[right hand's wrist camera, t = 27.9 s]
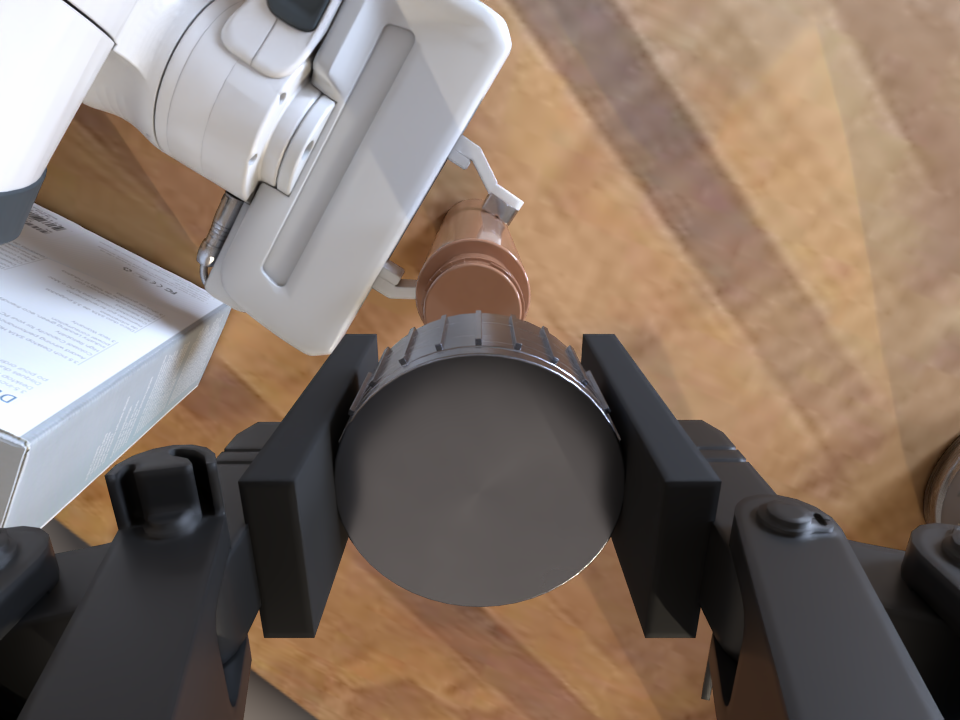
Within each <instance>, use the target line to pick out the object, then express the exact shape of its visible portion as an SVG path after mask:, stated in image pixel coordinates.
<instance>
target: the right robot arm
mask: <svg viewBox="0 0 960 720" xmlns="http://www.w3.org/2000/svg"><path fill="white" fill-rule="evenodd" d="M581 364H582V366H583V367H584V369H585V370H586V372H587V371H589V370H590V371H591V373H592V375H593V377H594V379H595V381H596V383H597V385H598V387H599V389H600V391H601V392H602V394H603V396H604V398H605V400H606V402H607V404H608V406H609V408H610V410H611V412H610V413H609V415H610V417H611V419H612V421H613V424H614V426H615V428H616V430H617V432H618V434H619V436H620V438H621V448H622V451H623V455H624V460H625V468H626V480H625V491H624V500H623V508H622V511H621V514H620V517H619V520H618V523H617V525H616V527H615V529H614V531H613V533H612V535H611V538H612V541H613V544H614V547H615V550H616V553H617V556H618V559H619V562H620V565H621V568H622V571H623V573H624V576H625V579H626V582H627V585H628V588H629V591H630V594H631V597H632V600H633V603H634V606H635V609H636V612H637V615H638V618H639V621H640V624H641V627H642V630H643V632H644V635H645V638H696V632H697V626H698V620H699V614H700V608H702V611H703V613H704V615H705V617H706V619H707V621H708V623H709V625H710V627H711V629H712V631H713V634H712V639H711V645H710V650H709V656H708V661H707V667H706V672H705V678H704V683H703V690H702V698H701V699H705V700H710V695H711V689H712V688H713V695H714V703H715V710H716V717H717V720H960V436H959V437H958V438H957V439H956V440H955V441H954V442H953V443H952V444H951V446H950V447H949V448H948V449H947V450H946V451H945V453H944V454H943V455H942V457H941V458H940V459H939V461H938V463H937V464H936V466H935V468H934V470H933V472H932V474H931V476H930V478H929V481H928V483H927V487H926V490H925V495H924V508H923V509H924V517H925V521H926V524H925V525H920V526H919V527H917V528H916V529H915V530H913V531H912V532H911V536H910V539H909V542H908V545H907V548H906V551H902V550H897V549H891V548H886V547H881V546H876V545H870V544H865V543H860V542H856V541H851V540H847V538H846V536H845V534H844V533H843V531H842V529H841V528H840V527H839V525H838V524H837V523H836V522H835V521H834V520H833V518H832V517H830V516H829V515H827V514H826V513H824V512H823V511H821V510H819V509H818V508H816V507H814V506H812V505H810V504H807V503H805V502H802V501H800V500H797V499H793V498H789V497H784V496H780V495H777V494H776V493H775V492H774V491H773V490H772V489H771V487H770V486H769V485H768V484H767V483H766V482H765V481H764V479H763V478H762V477H761V476H760V475H759V474H758V472H757V471H756V470H755V469H754V468H753V467H752V465H751V464H750V463H749V462H746V458H745V457H744V456H743V455H742V454H741V453H740V451H739V450H736V449H735V446H734V445H733V443H732V442H731V441H730V440H729V439H728V438H727V436H726V435H725V434H724V433H723V432H721V431H720V430H718V429H716V428H715V427H713V426H711V425H709V424H708V423H706V422H704V421H702V420H677V419H676V418H675V417H674V415H673V414H672V413H671V411H670V410H669V408H668V407H667V406H666V404H665V403H664V402H663V400H662V399H661V397H660V396H659V395H658V393H657V392H656V391H655V389H654V388H653V386H652V385H651V384H650V382H649V381H648V380H647V378H646V377H645V376H644V374H643V373H642V371H641V370H640V369H639V367H638V366H637V365H636V363H635V362H634V360H633V359H632V358H631V356H630V355H629V354H628V352H627V351H626V350H625V348H624V347H623V345H622V344H621V343H620V341H619V340H618V339H617V337H616V336H615V334H583V342H582V358H581ZM377 365H378V348H377V334H345V335H344V337H343V338H342V339H341V341H340V342H339V344H338V345H337V346H336V348H335V349H334V350H333V352H332V353H331V354H330V356H329V357H328V359H327V360H326V361H325V363H324V364H323V365H322V367H321V368H320V370H319V371H318V372H317V374H316V375H315V376H314V378H313V379H312V380H311V382H310V383H309V385H308V386H307V387H306V389H305V390H304V391H303V393H302V394H301V396H300V397H299V398H298V400H297V401H296V402H295V404H294V405H293V407H292V408H291V409H290V411H289V412H288V413H287V415H286V416H285V417H284V419H283V420H282V422H257V423H256V424H254V425H252V426H250V427H249V428H247V429H245V430H244V431H242V432H240V433H238V434H237V435H236V436H235V437H234V438H233V440H232V441H231V442H230V443H229V444H228V445H227V447H226V448H225V449H224V450H225V451H224V452H221V454H220V455H219V456H218V457H217V458H216V456H215V453H213V452H212V451H211V450H209V449H208V448H206V447H201V446H196V445H172V446H166V447H161V448H156V449H151V450H148V451H145V452H143V453H140V454H137V455H134V456H131V457H130V458H128V459H126V460H124V461H122V462H120V463H119V464H117V465H115V466H114V467H113V468H112V469H111V470H110V471H109V472H108V473H107V474H106V475H105V479H106V483H107V487H108V491H109V495H110V499H111V502H112V506H113V510H114V514H115V518H116V522H117V526H118V529H119V530H118V532H117V534H116V535H115V537H114V539H113V541H112V542H111V543H107V544H103V545H98V546H93V547H88V548H83V549H78V550H72V551H67V552H62V553H57V554H55V553H54V550H53V547H52V544H51V540H50V537H49V535H48V534H47V533H46V532H45V531H43V530H42V529H41V528H37V527H29V526H17V527H8V528H0V720H243V718H244V711H245V704H246V697H247V690H248V682H249V675H250V668H251V661H252V659H251V651H250V645H249V639H248V631H249V629H250V627H251V625H252V623H253V621H254V619H255V617H256V615H257V613H258V611H259V610H260V616H261V622H262V628H263V634H264V638H314V637H315V634H316V631H317V628H318V626H319V623H320V620H321V617H322V614H323V611H324V608H325V605H326V602H327V599H328V596H329V593H330V590H331V587H332V584H333V581H334V578H335V575H336V572H337V569H338V567H339V564H340V561H341V558H342V555H343V552H344V549H345V546H346V543H347V540H348V537H349V536H348V534H347V532H346V530H345V528H344V527H343V525H342V522H341V519H340V516H339V513H338V510H337V504H336V495H335V485H334V462H335V456H336V453H337V449H338V446H339V440H340V437H341V435H342V433H343V431H344V429H345V427H346V425H347V423H348V421H349V419H350V417H351V415H349V414H347V413H348V411H349V409H350V407H351V405H352V403H353V401H354V399H355V397H356V395H357V393H358V391H359V389H360V387H361V385H362V383H363V381H364V379H365V377H366V375H367V374H368V372H370V373H373V371H374V370H375V368H376V366H377Z"/></svg>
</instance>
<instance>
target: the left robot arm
mask: <svg viewBox="0 0 960 720" xmlns="http://www.w3.org/2000/svg"><path fill="white" fill-rule="evenodd" d="M511 46H512V44H511V39H510V34H509V30H508V27H507V24H506V22H505V21H504V19H503V18H502V17H501V16H500V15H499V14H497V13H496V12H495V11H493V10H492V9H491V8H489V7H488V6H486V5H485V4H483V3H482V2H480V1H479V0H0V245H2V244H5V243H8V242H11V241H13V240H15V239H16V238H18V237H19V235H20V234H21V232H22V229H23V227H24V225H25V222H26V220H27V218H28V215H29V213H30V211H31V208H32V206H33V204H34V201H35V199H36V197H37V194H38V192H39V190H40V188H41V185H42V183H43V181H44V179H45V176H46V172H47V164H48V163H49V161H50V159H51V157H52V155H53V153H54V152H55V150H56V148H57V146H58V144H59V143H60V141H61V139H62V137H63V135H64V134H65V132H66V130H67V128H68V126H69V125H70V123H71V121H72V119H73V117H74V116H75V114H76V112H77V110H78V108H79V107H80V105H81V103H83V104H85V105H87V106H90V107H92V108H95V109H98V110H102V111H105V112H108V113H111V114H114V115H117V116H119V117H121V118H123V119H124V120H126V121H128V122H129V123H131V124H132V125H133V126H135V127H136V128H137V129H138V130H139V131H140V132H141V133H142V134H143V135H144V136H145V137H146V138H147V139H148V140H149V141H150V142H151V143H152V144H153V145H154V146H155V147H157V148H158V149H159V150H161V151H162V152H164V153H165V154H167V155H169V156H170V157H172V158H174V159H175V160H177V161H179V162H180V163H182V164H183V165H185V166H187V167H188V168H190V169H192V170H193V171H195V172H197V173H198V174H200V175H202V176H203V177H205V178H207V179H208V180H210V181H212V182H213V183H215V184H217V185H218V186H220V187H222V188H223V189H225V190H226V191H225V194H224V195H223V197H222V200H221V202H220V204H219V207H218V209H217V211H216V213H215V216H214V219H213V222H212V225H211V228H210V230H209V233H208V235H207V237H206V238H205V239H204V240H203V241H202V243H201V245H200V247H199V250H198V253H197V258H196V259H197V261H198V262H199V263H200V277H201V280H202V282H203V285H204V286H205V290H206V291H207V292H208V293H209V294H210V295H211V296H212V297H214V298H215V299H217V300H219V301H221V302H222V303H224V304H226V305H228V306H230V307H231V308H233V309H235V310H238V311H241V312H245V313H247V314H249V315H250V316H251V317H252V318H254V319H255V320H256V321H258V322H259V323H260V324H261V325H263V326H264V327H265V328H267V329H268V330H270V331H271V332H272V333H274V334H275V335H277V336H278V337H279V338H281V339H282V340H284V341H285V342H287V343H288V344H290V345H292V346H293V347H295V348H296V349H298V350H299V351H301V352H303V353H305V354H307V355H310V356H319V355H328V354H331V353H332V352H333V350H334V349H335V348H336V346H337V345H338V344H339V342H340V341H341V339H342V338H343V337H344V335H345V333H346V332H347V330H348V328H349V326H350V325H351V323H352V321H353V320H354V318H355V316H356V315H357V313H358V311H359V309H360V308H361V306H362V304H363V303H364V301H365V299H366V297H367V296H368V294H369V292H370V291H371V289H372V288H373V289H375V290H376V291H378V292H380V293H381V294H383V295H385V296H386V297H388V298H393V299H416V298H415V291H416V283H417V280H410V279H401V277H402V276H403V274H404V272H405V271H404V269H403V268H401V267H400V266H398V265H397V264H395V263H393V262H392V261H390V260H389V258H390V257H391V255H392V253H393V251H394V250H395V248H396V246H397V245H398V243H399V241H400V240H401V238H402V236H403V234H404V233H405V231H406V229H407V228H408V226H409V224H410V223H411V221H412V219H413V217H414V216H415V214H416V212H417V211H418V209H419V207H420V205H421V204H422V202H423V200H424V199H425V197H426V195H427V194H428V192H429V190H430V188H431V187H432V185H433V183H434V182H435V180H436V178H437V176H438V175H439V173H440V171H441V170H442V168H443V166H444V165H445V163H446V161H447V159H449V160H450V161H452V162H453V163H455V164H456V165H458V166H459V167H461V168H462V169H467V168H468V166H469V164H470V163H471V161H473V163H474V165H475V167H476V169H477V171H478V173H479V175H480V177H481V179H482V181H483V183H484V185H485V187H486V189H487V191H488V193H489V194H488V195H487V197H486V199H485V200H484V202H483V204H482V209H483V210H485V211H486V212H488V213H489V214H491V215H497V216H498V218H499V220H500V221H502V222H503V223H505V224H506V225H508V226H509V224H510V223H511V221H512V220H513V218H514V217H515V215H516V214H517V212H518V211H519V209H520V208H521V206H522V205H523V201H521V200H520V199H519V198H517V197H516V196H515V195H513V194H512V193H510V192H509V191H507V190H506V189H504V188H503V187H501V186H500V185H498V184H497V180H496V178H495V176H494V174H493V172H492V170H491V168H490V166H489V164H488V162H487V160H486V158H485V156H484V154H483V152H482V150H481V148H480V147H479V146H478V145H476V144H475V143H473V142H472V141H470V140H469V139H468V138H466V137H465V136H463V135H462V134H463V132H464V130H465V129H466V127H467V125H468V124H469V122H470V120H471V119H472V117H473V115H474V113H475V112H476V110H477V108H478V107H479V105H480V103H481V102H482V100H483V98H484V96H485V95H486V93H487V91H488V90H489V88H490V86H491V84H492V83H493V81H494V79H495V78H496V76H497V74H498V73H499V71H500V69H501V67H502V66H503V64H504V62H505V61H506V59H507V57H508V55H509V53H510V51H511ZM470 160H471V161H470ZM208 267H213V268H212V270H211V272H210V274H209V276H208Z"/></svg>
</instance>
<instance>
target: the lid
mask: <svg viewBox="0 0 960 720" xmlns="http://www.w3.org/2000/svg"><path fill="white" fill-rule="evenodd" d="M610 412H611V410H610V408H609V406H608V404H607V402H606V400H605V398H604V396H603V394H602V392H601V391H600V389H599V387H598V385H597V383H596V381H595V379H594V377H593V375H592V373H591V371H590V370H589V371H587V372H586V370H585V369H584V367H583V366H582V364H581V363H580V361H579V359H578V357H577V355H576V353H575V351H574V349H573V348H572V347H571V346H569V347H566V346H565V345H564V344H563V343H562V342H561V341H559V340H558V339H557V338H556V337H554V336H553V335H551V334H550V333H549V331H548V329H547V328H546V327H544V326H543V327H542V328H540V327H537V326H535V325H533V324H531V323H529V322H526V321H523V320H520V319H517V318H516V315H513V314H511V315H510V316H505V315H499V314H490V313H481V310H476V313H470V314H460V315H455V316H450V317H447V314H446V315H442V316H441V319H439V320H436V321H433V322H430V323H428V324H426V325H424V326H422V327H420V328H418V329H416V328H415V327H413V328H412V329H410V331H409V334H408V335H407V336H405V337H404V338H402V339H401V340H400V341H399V342H398V343H397V344H395V345H394V346H393V347H392V348H391V349H390V348H389V347H387V348H386V349H385V350H384V352H383V355H382V357H381V359H380V361H379V363H378V365H377V366H376V368H375V370H374V371H373V373H370V372H368V374H367V375H366V377H365V379H364V381H363V383H362V385H361V387H360V389H359V391H358V393H357V395H356V397H355V399H354V401H353V403H352V405H351V407H350V409H349V411H348V413H347V414H349V415H351V417H350V419H349V421H348V423H347V425H346V427H345V429H344V431H343V433H342V435H341V437H340V440H339V446H338V449H337V453H336V456H335V462H334V485H335V495H336V504H337V510H338V513H339V516H340V519H341V522H342V525H343V527H344V528H345V530H346V532H347V534H348V536H349V538H350V540H351V541H352V543H353V544H354V546H355V547H356V548H357V550H358V551H359V553H360V554H361V555H362V556H363V557H364V558H365V559H366V560H367V561H368V562H369V564H370V565H371V566H373V567H374V568H375V569H376V570H377V571H379V572H380V573H381V574H382V575H383V576H385V577H386V578H388V579H389V580H391V581H392V582H394V583H395V584H397V585H398V586H400V587H402V588H404V589H406V590H408V591H410V592H412V593H414V594H417V595H420V596H422V597H425V598H428V599H431V600H435V601H438V602H442V603H446V604H453V605H460V606H473V607H487V606H500V605H506V604H512V603H517V602H521V601H525V600H528V599H532V598H535V597H537V596H540V595H542V594H545V593H547V592H549V591H551V590H553V589H555V588H557V587H559V586H561V585H563V584H564V583H566V582H567V581H569V580H570V579H572V578H573V577H575V576H576V575H577V574H579V573H580V572H581V571H582V570H583V569H584V568H585V567H587V566H588V565H589V564H590V563H591V562H592V561H593V560H594V559H595V557H596V556H597V555H598V554H599V553H600V552H601V551H602V549H603V548H604V546H605V545H606V543H607V542H608V540H609V539H610V537H611V535H612V533H613V531H614V529H615V527H616V525H617V523H618V520H619V517H620V514H621V511H622V508H623V500H624V491H625V480H626V468H625V460H624V455H623V451H622V448H621V438H620V436H619V434H618V432H617V430H616V428H615V426H614V424H613V421H612V419H611V417H610V415H609V413H610Z"/></svg>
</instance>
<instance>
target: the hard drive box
mask: <svg viewBox="0 0 960 720" xmlns="http://www.w3.org/2000/svg"><path fill="white" fill-rule="evenodd" d="M230 310H231V307H230V306H228V305H226V304H224V303H222V302H221V301H219V300H217V299H215V298H214V297H212V296H211V295H210V294H209V293H208V292H207V291H206V290H204V289H202V288H200V287H198V286H196V285H195V284H193V283H191V282H189V281H187V280H185V279H183V278H181V277H179V276H177V275H175V274H173V273H171V272H169V271H167V270H165V269H163V268H161V267H159V266H157V265H155V264H153V263H151V262H149V261H147V260H145V259H143V258H141V257H140V256H138V255H136V254H134V253H132V252H130V251H128V250H126V249H124V248H122V247H120V246H118V245H116V244H114V243H112V242H110V241H108V240H106V239H104V238H102V237H100V236H98V235H97V234H95V233H93V232H90V231H88V230H86V229H84V228H83V227H81V226H80V225H78V224H76V223H74V222H72V221H70V220H68V219H66V218H64V217H62V216H60V215H58V214H56V213H54V212H52V211H49V210H47V209H45V208H43V207H41V206H39V205H37V204H35V203H34V204H33V206H32V208H31V211H30V213H29V215H28V218H27V220H26V222H25V225H24V227H23V229H22V232H21V234H20V235H19V237H18V238H16V239H15V240H13V241H11V242H8V243H5V244H2V245H0V528H8V527H17V526H29V527H37V528H43V527H44V526H45V525H46V524H47V523H48V522H49V521H50V520H51V519H52V518H53V517H55V516H56V515H57V514H58V513H59V512H60V511H61V510H62V509H63V508H64V507H65V506H67V505H68V504H69V503H70V502H71V501H72V500H73V499H74V498H75V497H77V496H78V495H79V494H80V493H81V492H82V491H83V490H84V489H85V488H86V487H87V486H88V485H90V484H91V483H92V482H93V481H94V480H95V479H96V478H97V477H98V476H99V475H101V474H102V473H103V472H104V471H105V470H106V469H107V468H108V467H109V466H110V465H112V464H113V463H114V462H115V461H116V460H117V459H118V458H119V457H120V456H121V455H123V454H124V453H125V452H126V451H127V450H128V449H129V448H130V447H131V446H132V445H133V444H135V443H136V442H137V441H138V440H139V439H140V438H141V437H142V436H143V435H144V434H145V433H146V432H148V431H149V430H150V429H151V428H152V427H153V426H154V425H155V424H156V423H157V422H158V421H159V420H161V419H162V418H163V417H164V416H165V415H166V414H167V413H168V412H169V411H170V410H171V409H173V408H174V407H175V406H176V405H177V404H178V403H179V402H180V401H182V400H183V399H184V398H185V397H186V396H187V395H188V394H189V393H190V392H191V391H193V390H194V389H195V388H196V387H197V386H198V384H199V382H200V380H201V378H202V375H203V373H204V371H205V369H206V366H207V364H208V362H209V359H210V357H211V355H212V353H213V350H214V348H215V346H216V343H217V341H218V339H219V336H220V334H221V332H222V330H223V327H224V325H225V323H226V320H227V318H228V315H229V313H230Z"/></svg>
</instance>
